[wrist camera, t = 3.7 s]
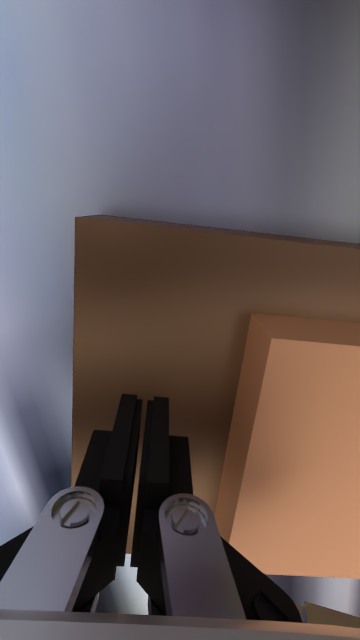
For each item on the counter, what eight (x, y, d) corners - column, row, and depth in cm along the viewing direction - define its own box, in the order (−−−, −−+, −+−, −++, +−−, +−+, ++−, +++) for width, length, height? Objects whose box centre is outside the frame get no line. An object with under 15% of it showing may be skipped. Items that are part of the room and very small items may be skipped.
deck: (99, 214, 14) (75, 217, 10) (457, 255, 15) (553, 270, 11) (90, 480, 19) (70, 550, 15) (369, 498, 20) (418, 568, 16)
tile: (251, 312, 12) (271, 338, 9) (417, 329, 12) (475, 357, 10) (214, 514, 14) (223, 572, 12) (350, 522, 15) (383, 579, 12)
